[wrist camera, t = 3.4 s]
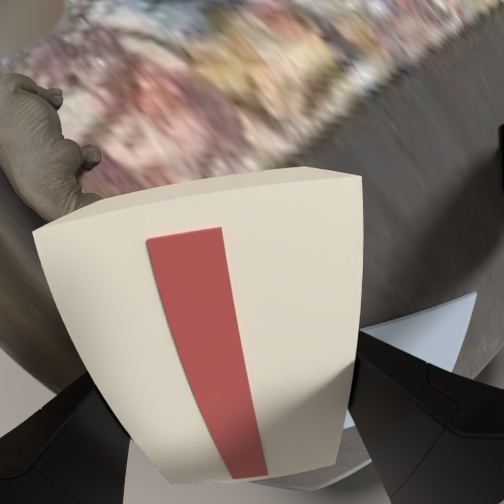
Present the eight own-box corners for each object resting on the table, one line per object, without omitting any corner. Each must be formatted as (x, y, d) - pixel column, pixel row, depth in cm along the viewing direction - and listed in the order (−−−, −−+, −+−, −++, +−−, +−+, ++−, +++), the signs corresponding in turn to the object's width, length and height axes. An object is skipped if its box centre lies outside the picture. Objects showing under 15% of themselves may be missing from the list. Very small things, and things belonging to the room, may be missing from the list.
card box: (304, 166, 8) (364, 176, 4) (312, 400, 11) (335, 465, 7) (100, 200, 7) (29, 232, 4) (177, 418, 11) (171, 486, 7)
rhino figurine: (120, 269, 16) (80, 321, 10) (12, 114, 12) (-47, 111, 6) (168, 228, 16) (139, 269, 10) (50, 68, 11) (-6, 47, 5)
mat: (474, 291, 20) (476, 293, 20) (442, 386, 24) (444, 388, 24) (298, 342, 19) (299, 346, 19) (299, 437, 23) (300, 440, 23)
